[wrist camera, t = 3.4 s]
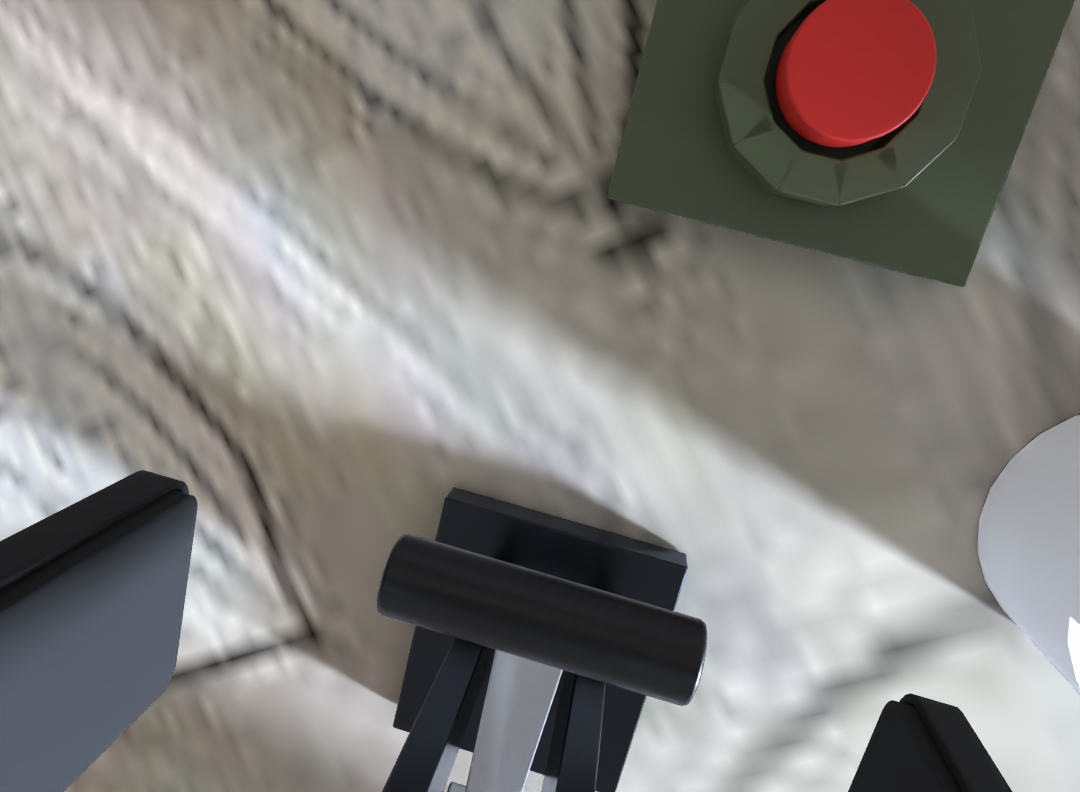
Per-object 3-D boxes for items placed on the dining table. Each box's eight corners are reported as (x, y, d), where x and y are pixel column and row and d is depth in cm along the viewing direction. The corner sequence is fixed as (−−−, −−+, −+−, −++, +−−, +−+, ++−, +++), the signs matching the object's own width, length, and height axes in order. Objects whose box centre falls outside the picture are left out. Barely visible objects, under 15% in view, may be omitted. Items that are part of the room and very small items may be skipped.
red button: (934, 22, 20) (960, 4, 19) (886, 162, 21) (906, 156, 19) (799, -8, 21) (812, -29, 19) (757, 130, 21) (766, 123, 20)
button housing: (1050, -16, 23) (1132, -64, 19) (938, 281, 25) (990, 293, 21) (686, -95, 24) (693, -157, 20) (609, 199, 26) (603, 195, 22)
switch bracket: (453, 486, 29) (305, 684, 17) (686, 553, 28) (714, 812, 16) (401, 709, 31) (239, 1025, 19) (615, 776, 31) (590, 1149, 18)
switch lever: (418, 491, 13) (360, 610, 11) (714, 576, 12) (703, 714, 11) (394, 808, 21) (359, 904, 19) (569, 864, 21) (549, 968, 19)
